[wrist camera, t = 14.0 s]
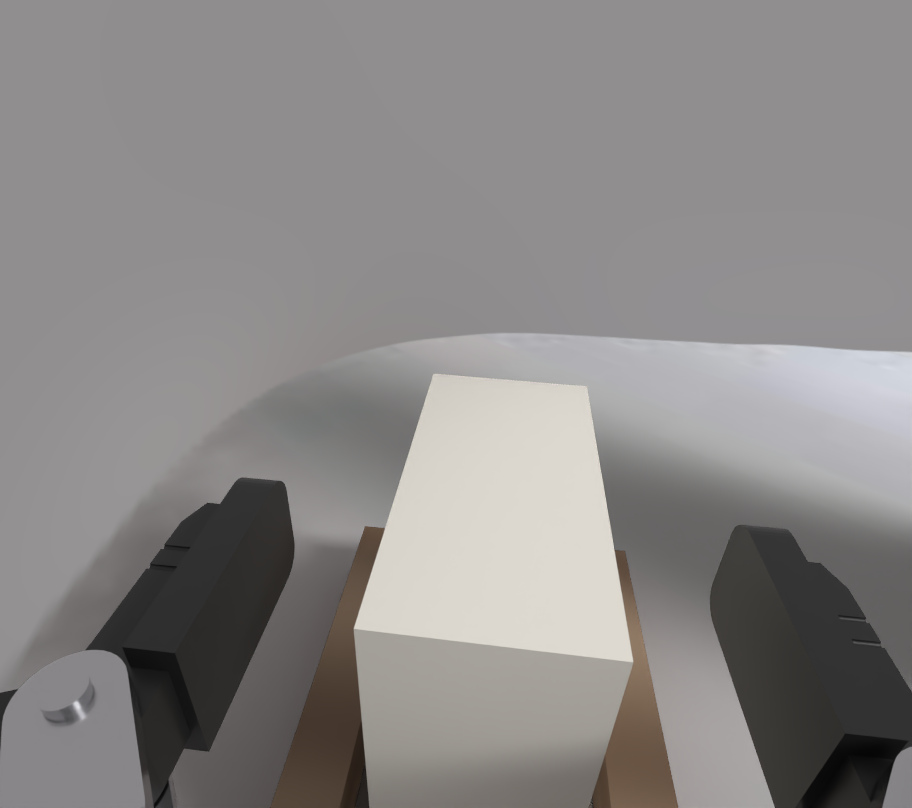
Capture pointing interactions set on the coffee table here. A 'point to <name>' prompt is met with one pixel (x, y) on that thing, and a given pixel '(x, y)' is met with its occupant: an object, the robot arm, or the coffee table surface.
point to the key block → (493, 607)
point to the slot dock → (341, 735)
